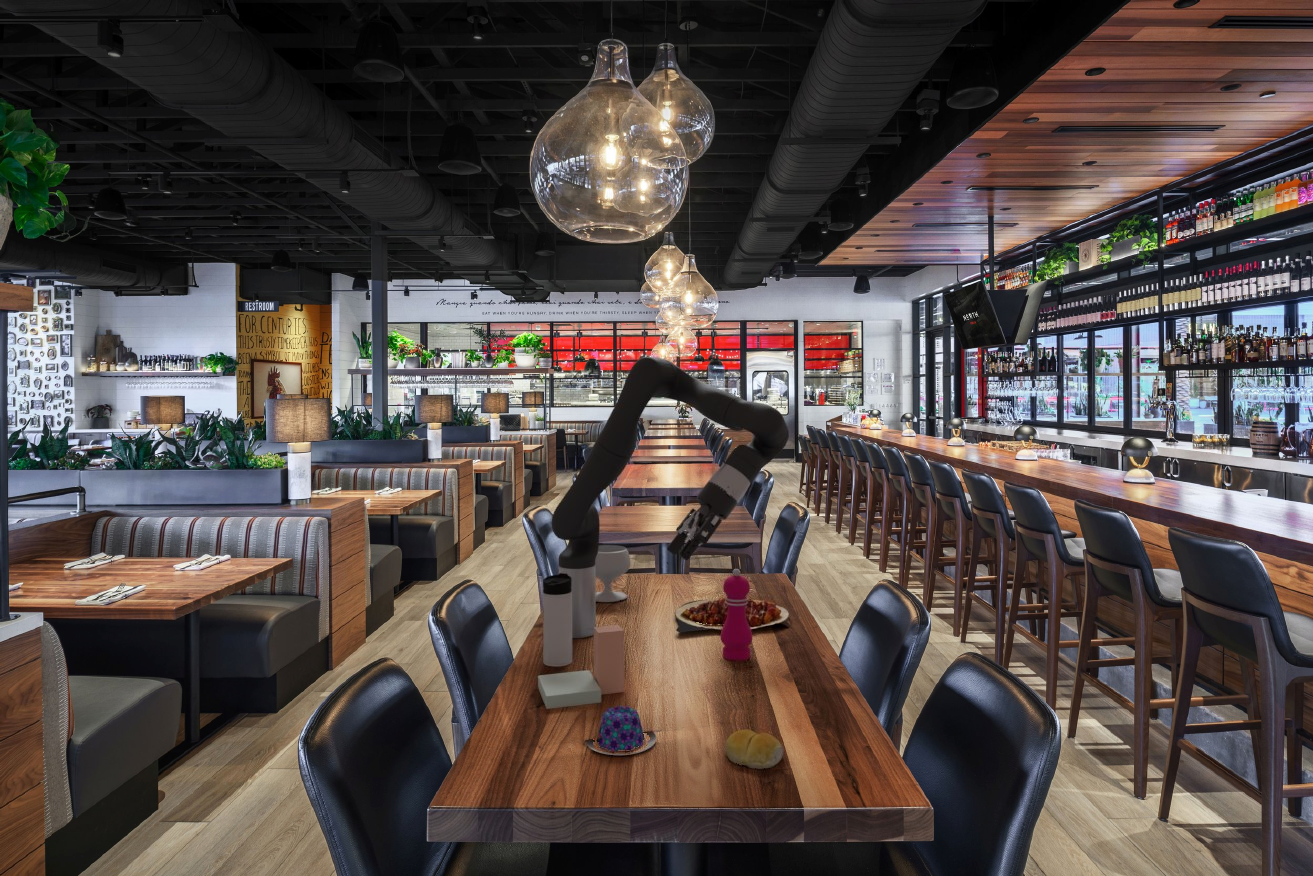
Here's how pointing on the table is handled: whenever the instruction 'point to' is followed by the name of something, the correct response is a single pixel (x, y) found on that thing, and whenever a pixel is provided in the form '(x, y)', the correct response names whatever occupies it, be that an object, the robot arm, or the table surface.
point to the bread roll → (753, 749)
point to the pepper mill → (736, 619)
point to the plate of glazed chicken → (718, 611)
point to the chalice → (611, 570)
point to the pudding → (621, 731)
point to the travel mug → (557, 620)
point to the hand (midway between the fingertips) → (676, 555)
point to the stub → (609, 658)
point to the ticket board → (569, 689)
